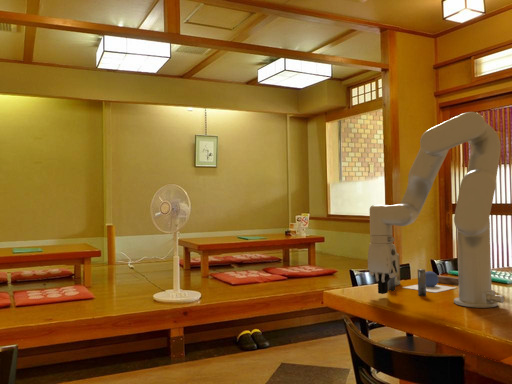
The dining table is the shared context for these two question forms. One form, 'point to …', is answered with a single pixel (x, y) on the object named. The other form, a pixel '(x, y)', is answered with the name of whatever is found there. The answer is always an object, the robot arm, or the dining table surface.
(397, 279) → the skincare box
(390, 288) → the far post
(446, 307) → the dining table surface
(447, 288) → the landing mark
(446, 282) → the strip
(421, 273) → the near post
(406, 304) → the dining table surface
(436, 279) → the ball
